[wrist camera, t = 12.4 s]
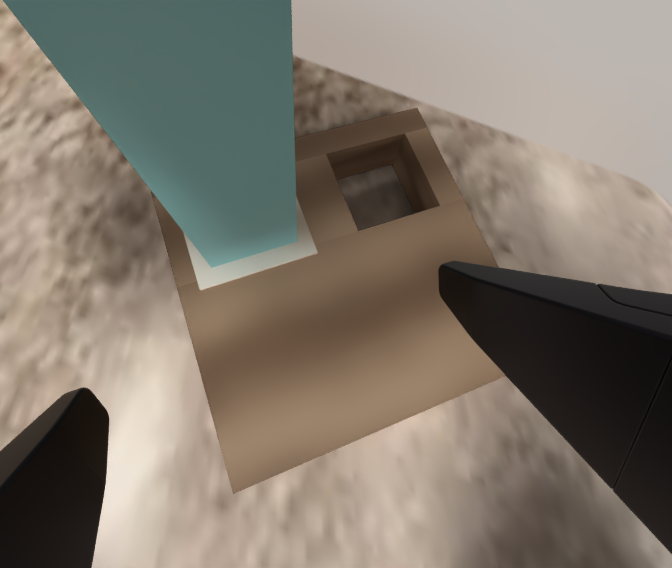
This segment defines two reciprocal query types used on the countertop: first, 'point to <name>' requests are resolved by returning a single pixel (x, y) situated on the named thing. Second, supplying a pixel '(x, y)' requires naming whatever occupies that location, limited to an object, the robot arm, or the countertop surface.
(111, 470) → the countertop surface
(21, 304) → the countertop surface
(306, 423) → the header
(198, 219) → the plug
